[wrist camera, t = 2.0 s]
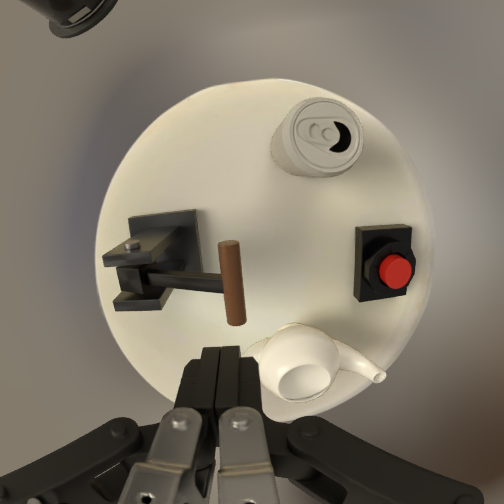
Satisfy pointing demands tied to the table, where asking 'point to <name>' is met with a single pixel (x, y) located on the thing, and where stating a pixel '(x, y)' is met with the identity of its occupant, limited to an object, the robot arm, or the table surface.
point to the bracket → (157, 253)
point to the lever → (194, 280)
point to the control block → (379, 259)
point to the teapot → (306, 362)
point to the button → (395, 271)
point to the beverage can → (318, 139)
